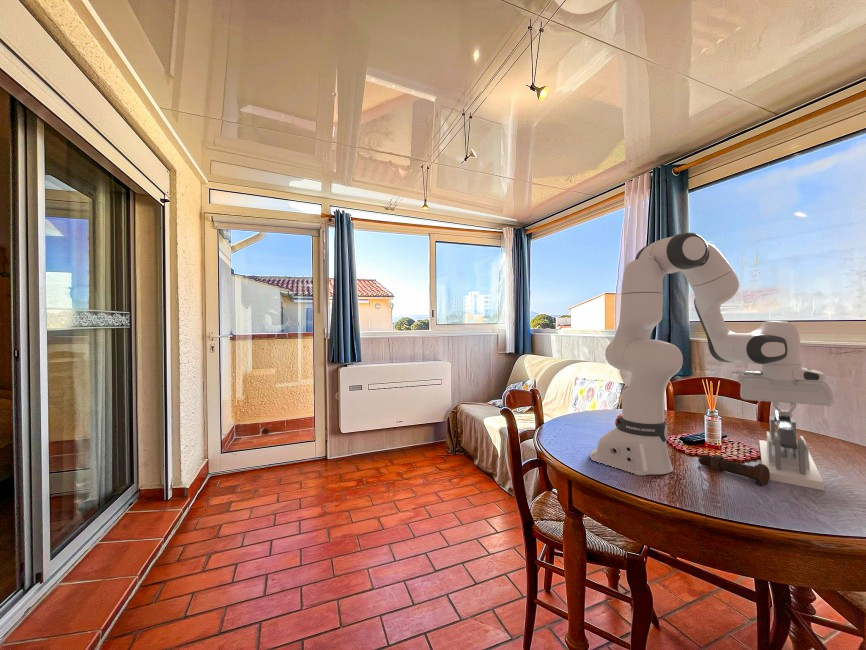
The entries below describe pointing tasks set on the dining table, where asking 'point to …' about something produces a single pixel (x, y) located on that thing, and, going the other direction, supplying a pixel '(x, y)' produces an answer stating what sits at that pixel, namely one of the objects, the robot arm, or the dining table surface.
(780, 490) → the dining table surface
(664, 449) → the robot arm
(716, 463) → the bolt
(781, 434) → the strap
